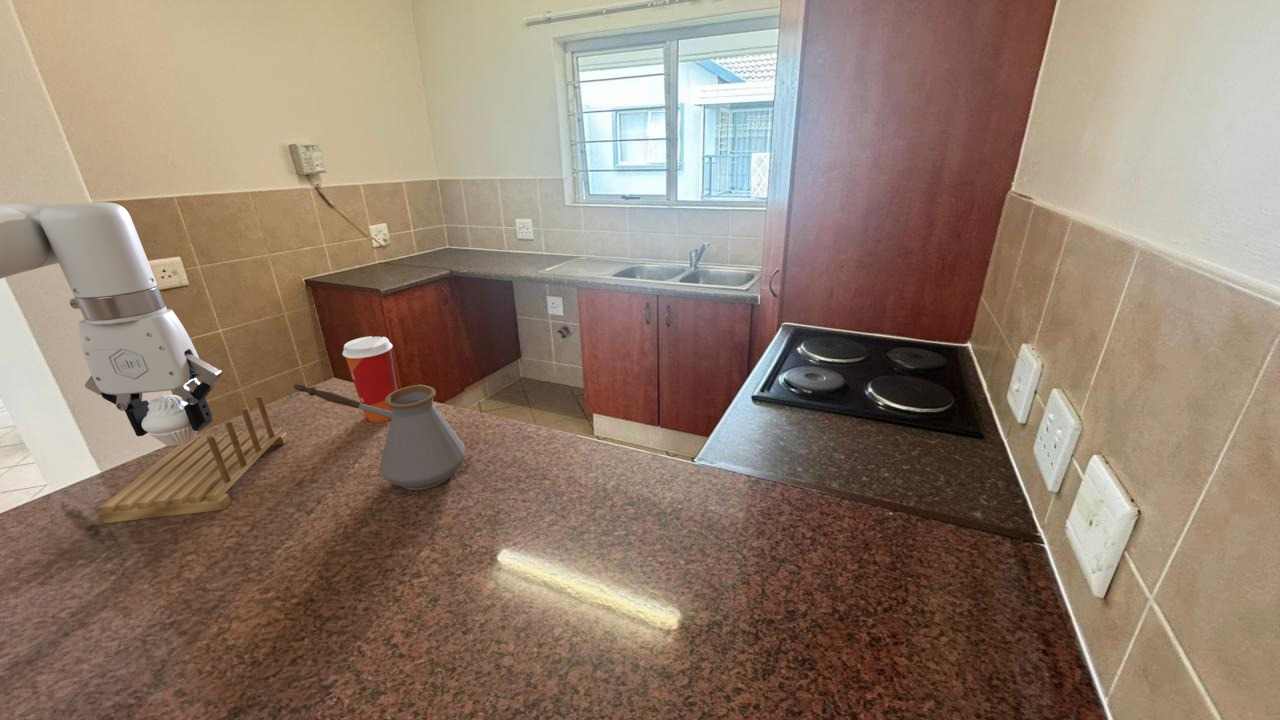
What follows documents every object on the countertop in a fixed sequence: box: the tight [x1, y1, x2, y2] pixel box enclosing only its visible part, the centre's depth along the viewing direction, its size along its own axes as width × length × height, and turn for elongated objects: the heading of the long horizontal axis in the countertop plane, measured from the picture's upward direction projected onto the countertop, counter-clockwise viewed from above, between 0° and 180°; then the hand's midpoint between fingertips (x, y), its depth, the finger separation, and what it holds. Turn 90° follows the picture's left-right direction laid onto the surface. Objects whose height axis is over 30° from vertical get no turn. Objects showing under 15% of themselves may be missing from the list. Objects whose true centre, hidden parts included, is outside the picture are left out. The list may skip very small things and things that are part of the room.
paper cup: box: [341, 335, 398, 424], centre depth 87 cm, size 8×8×14 cm
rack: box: [99, 395, 289, 524], centre depth 72 cm, size 14×18×10 cm
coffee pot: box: [289, 383, 467, 491], centre depth 70 cm, size 21×12×15 cm, turn 92°
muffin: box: [142, 394, 198, 447], centre depth 69 cm, size 6×6×7 cm
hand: (175, 427), depth 70 cm, fingers closed on muffin, 6 cm apart
